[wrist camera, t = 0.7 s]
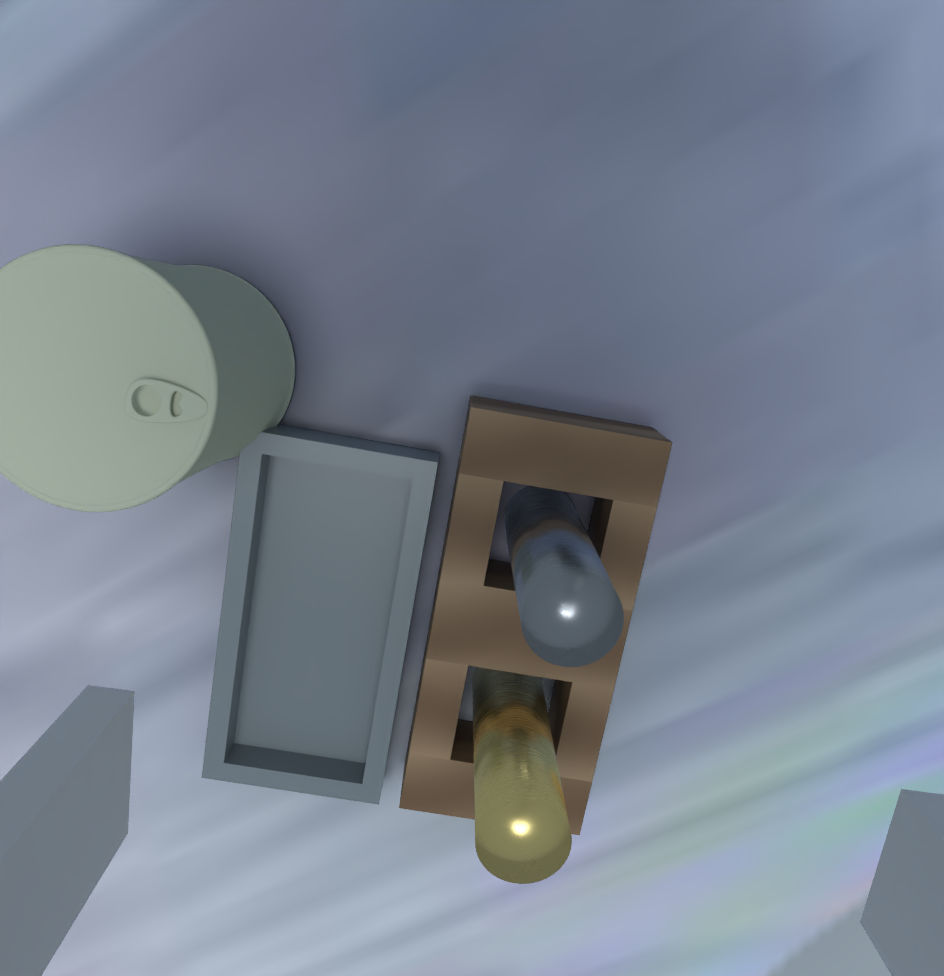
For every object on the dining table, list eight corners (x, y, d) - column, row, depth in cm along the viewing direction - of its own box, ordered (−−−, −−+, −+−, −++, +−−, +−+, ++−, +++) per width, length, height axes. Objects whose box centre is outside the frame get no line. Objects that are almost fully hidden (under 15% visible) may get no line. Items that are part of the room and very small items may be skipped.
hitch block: (470, 395, 41) (470, 407, 37) (652, 427, 41) (672, 442, 37) (404, 762, 45) (399, 807, 41) (569, 788, 46) (579, 835, 42)
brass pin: (478, 645, 44) (484, 792, 31) (546, 657, 44) (580, 807, 31) (466, 708, 45) (467, 876, 32) (533, 719, 45) (561, 889, 32)
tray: (255, 420, 41) (242, 429, 38) (439, 452, 41) (437, 462, 39) (215, 750, 45) (201, 777, 43) (383, 776, 45) (378, 804, 43)
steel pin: (511, 478, 42) (531, 562, 29) (582, 491, 42) (634, 580, 29) (497, 547, 43) (512, 658, 30) (567, 559, 43) (611, 674, 30)
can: (279, 479, 41) (193, 541, 29) (91, 440, 41) (-70, 488, 29) (310, 287, 39) (233, 273, 28) (114, 246, 39) (-48, 214, 27)
